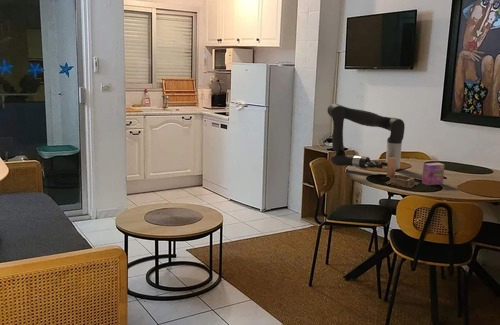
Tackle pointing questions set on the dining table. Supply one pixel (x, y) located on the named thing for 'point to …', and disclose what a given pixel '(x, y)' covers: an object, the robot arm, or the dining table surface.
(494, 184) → the dining table surface
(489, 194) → the dining table surface
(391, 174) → the pivot pin
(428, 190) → the dining table surface
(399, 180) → the keeper cradle
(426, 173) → the box
